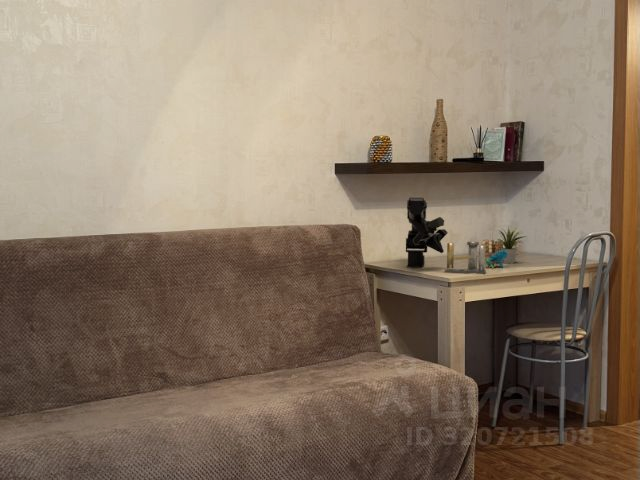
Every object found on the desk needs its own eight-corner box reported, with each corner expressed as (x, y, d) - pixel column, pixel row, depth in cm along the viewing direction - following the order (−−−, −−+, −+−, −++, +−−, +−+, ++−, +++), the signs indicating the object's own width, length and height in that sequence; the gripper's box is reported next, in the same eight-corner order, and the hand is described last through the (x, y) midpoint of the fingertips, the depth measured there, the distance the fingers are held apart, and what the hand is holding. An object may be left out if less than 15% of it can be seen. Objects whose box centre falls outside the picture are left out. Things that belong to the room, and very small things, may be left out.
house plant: (510, 265, 338) (511, 227, 337) (485, 262, 349) (486, 226, 348) (530, 263, 348) (531, 226, 346) (505, 260, 358) (506, 224, 357)
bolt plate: (444, 272, 314) (444, 269, 314) (445, 270, 320) (445, 268, 320) (484, 274, 310) (484, 271, 310) (485, 272, 316) (485, 269, 316)
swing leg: (466, 265, 326) (467, 241, 325) (471, 265, 324) (471, 241, 323) (445, 267, 318) (446, 243, 317) (450, 268, 316) (450, 243, 315)
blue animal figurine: (500, 261, 339) (509, 247, 332) (507, 272, 336) (516, 257, 329) (479, 266, 334) (488, 251, 327) (486, 277, 331) (496, 262, 324)
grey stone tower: (479, 273, 311) (479, 245, 310) (465, 268, 329) (465, 241, 328) (490, 273, 312) (491, 245, 311) (476, 267, 329) (476, 241, 328)
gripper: (419, 211, 314) (443, 240, 308) (443, 210, 328) (466, 237, 322) (403, 230, 320) (425, 259, 314) (427, 227, 334) (449, 255, 328)
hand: (442, 252), depth 319 cm, fingers closed
